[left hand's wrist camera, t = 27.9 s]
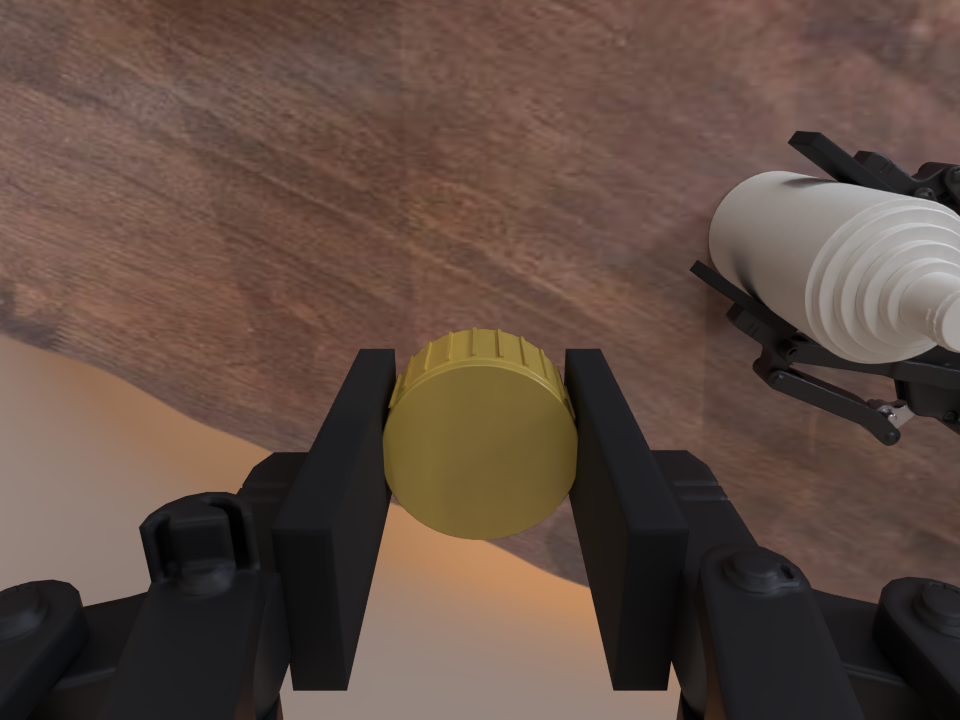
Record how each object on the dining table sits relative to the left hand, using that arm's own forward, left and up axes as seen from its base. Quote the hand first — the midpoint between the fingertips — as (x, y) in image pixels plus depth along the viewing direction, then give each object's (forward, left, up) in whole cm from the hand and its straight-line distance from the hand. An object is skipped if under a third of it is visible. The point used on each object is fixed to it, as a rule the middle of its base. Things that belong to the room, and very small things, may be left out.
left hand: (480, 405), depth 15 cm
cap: (0, 0, +2) cm, 2 cm away
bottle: (+18, +7, -30) cm, 36 cm away
